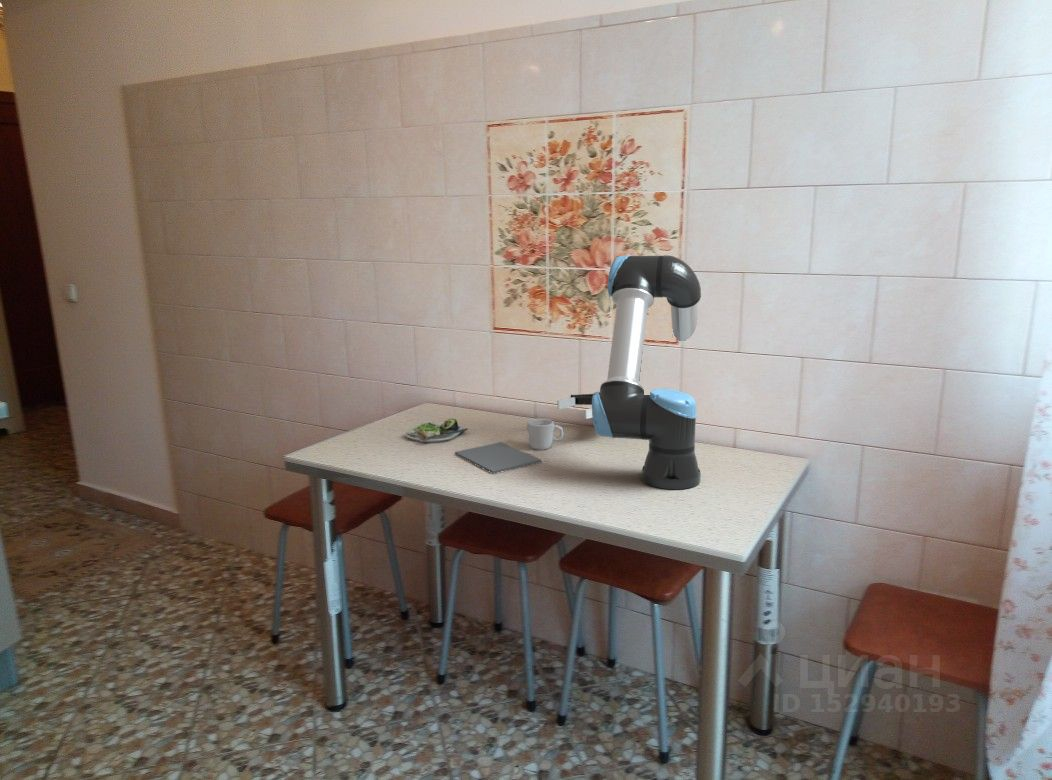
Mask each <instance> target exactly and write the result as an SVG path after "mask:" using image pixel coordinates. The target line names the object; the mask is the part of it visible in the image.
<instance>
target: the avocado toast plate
mask: <svg viewBox="0 0 1052 780" xmlns="http://www.w3.org/2000/svg"><path fill="white" fill-rule="evenodd" d="M468 430H469V428H463V427H462V426H461V425H459V423H458V421H457V419H456V418H449V419H446V420H444V422H442V423H434V422H429V421H428V422H427V423H426V422H425V423H421V424H419V425H417V426H415V427H414V428H411V429H410V430H408V431H406V432H405V433H404V435H405V437H406V438H407V439H408V440H410V441H413V442H416V441H417V442H418V443H425V442H426V444H427V443H428V444H429V443H430V444H432V443H431V442H434V443H443V442H448V441H447V440H449V441H451V440H453V439H454V437H455V438H456V436H457V437H458V436H460V435H462V434H463V433H465V432H467V431H468ZM417 433H418V434H420V435H422V437H423V438H420V437H416V435H418V434H417ZM442 441H443V442H442Z"/></svg>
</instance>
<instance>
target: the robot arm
mask: <svg viewBox="0 0 1052 780" xmlns="http://www.w3.org/2000/svg"><path fill="white" fill-rule="evenodd" d="M607 277H608V278H607V279H608V280H607V293H608V295H609V296H610V297H611V299H612V302H613V304H615V305H616V307H615V316H614V324H613V331H612V338H611V347H610V353H609V354H610V355H609V363H608V371H607V379H606V380H605V381H604V382H601V384H600V388H599V391H596V392H593V393H583V394H580V393H579V394H570V397H569V398H563V399H558V400H557V401H556V404H557V407H556V409H557V410H563V409H567V408H572V407H573V408H575V407H576V406H580V405H581V406H583V405H584V406H585V405H586V406H588V405H589V406H590V405H591V408H587V409H584V419H585V420H588V419H592V425H593V428H594V431H595V433H596V434H597V435H598V436H599V437H605V438H611V439H629V440H646V441H648V451H647V454H646V457H645V461H644V464H643V466H642V468H641V480H642V481H643V483H644V484H647V485H649V486H651V487H655V488H660V489H665V490H666V489H667V490H685V489H690V488H694V487H696V486H698V485H699V484H700V483H701V475H702V474H701V469H700V468H699V464H698V460H697V456H696V447H695V446H696V420H697V417H698V414H697V403H696V400H695V398H694V397H693V396H692V395H691V394H688V393H686V392H683V391H680V390H676V389H670V388H664V389H654V390H652V391H651V392H650V395H644V389H643V387H642V386H641V385H640V384H639V381H640V372H641V363H642V354H643V345H644V343H645V335H646V326H647V315H648V309H649V308H650V307H652V306H653V305H654V303H655V298H666V302H667V303H668V304H669V305H670V313H671V314H670V315H671V330H672V329H673V333H674V336H675V337H676V338H677V339H678V340H679V341H686V340H687V339H689V338H690V337H691V336H692V334H693V333H694V331H695V329H696V325H697V320H699V319H698V304H699V302H700V301H701V297H702V294H701V293H702V291H701V289H702V288H701V283H700V282H699V279H698V276H697V275H696V273H695V271H694V270H693V269H692V268H691V267H690V266H689V264H687V262H685V261H684V260H682V259H680V258H679V257H676V256H673V255H665V254H664V255H632V254H628V255H620V256H617V257H616V258H614V259H613V261H612V263H611V265H610V267H609V271H608V276H607Z"/></svg>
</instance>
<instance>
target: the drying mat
mask: <svg viewBox="0 0 1052 780" xmlns="http://www.w3.org/2000/svg"><path fill="white" fill-rule="evenodd" d="M454 454H456V456H457V455H458V456H457V457H459V456H460V457H459V458H461V457H462V458H461V459H463V458H464V459H463V460H465V459H466V460H465V461H467V460H468V461H467V462H469V461H470V462H469V463H471V462H472V463H471V464H473V463H474V464H473V465H475V464H476V465H475V466H477V465H478V466H480V467H481V468H480V467H479V468H480V469H482V468H484V469H485V470H484V469H483V470H484V471H486V470H487V471H486V472H488V471H490V472H492V473H495V474H498V473H497V472H500V473H502V472H501V471H504V472H506V471H505V470H508V471H510V470H509V469H512V470H515V468H516V469H519V467H520V468H524V467H528V466H527V465H529V466H533V465H536V463H537V464H540V463H542V459H541V458H538V457H536V456H534V455H532V454H529V453H527V452H526V451H525V452H524V451H523V450H520V449H517V448H516V447H514V446H511V445H509V444H507V443H504V442H502V441H500V442H494V443H490V444H486V445H481V446H476V447H471V448H467V449H463V450H458V451H454ZM532 464H533V465H532ZM478 466H477V467H478ZM523 466H524V467H523ZM490 472H489V473H490ZM492 473H491V474H492Z"/></svg>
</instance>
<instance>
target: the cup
mask: <svg viewBox="0 0 1052 780" xmlns="http://www.w3.org/2000/svg"><path fill="white" fill-rule="evenodd" d="M526 425H527V426H526V427H527V434H528V443H529V447H530V448H532V449H534V450H538V451H539V450H542V451H543V450H547V449H550V448H551V446H552V445H553V442H558V441H561V440H562V439H563V437H564V429H563V427H562V426H560V425H557V424H555V423H554V421H553V420H552V419H549V418H532V419H529V420H527V423H526ZM555 430H559V432H560V434H559V437H556V436H555Z"/></svg>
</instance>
